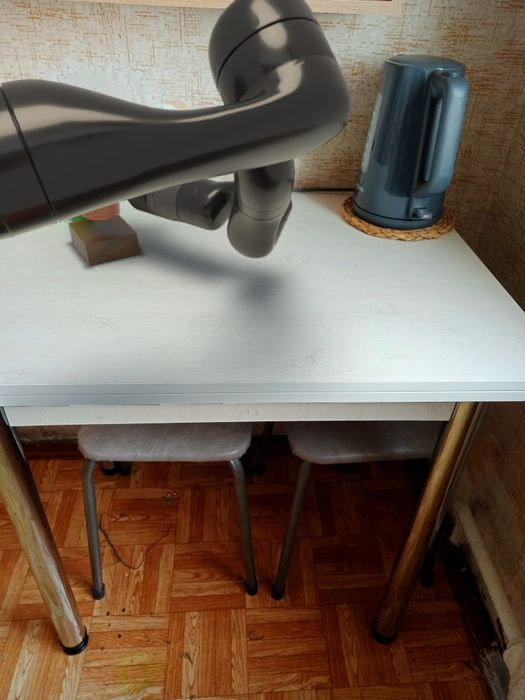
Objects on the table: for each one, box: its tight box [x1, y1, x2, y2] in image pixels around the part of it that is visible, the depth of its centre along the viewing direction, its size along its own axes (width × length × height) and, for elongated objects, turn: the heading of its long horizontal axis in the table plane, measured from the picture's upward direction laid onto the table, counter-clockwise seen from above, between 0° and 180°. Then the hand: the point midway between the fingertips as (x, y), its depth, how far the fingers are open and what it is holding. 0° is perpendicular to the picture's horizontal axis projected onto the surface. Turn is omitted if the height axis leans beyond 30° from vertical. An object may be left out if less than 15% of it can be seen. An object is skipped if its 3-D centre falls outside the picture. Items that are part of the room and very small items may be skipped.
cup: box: [82, 202, 121, 220], centre depth 84 cm, size 6×6×9 cm
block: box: [68, 214, 140, 267], centre depth 90 cm, size 9×9×4 cm
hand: (83, 168), depth 83 cm, fingers closed on cup, 6 cm apart
